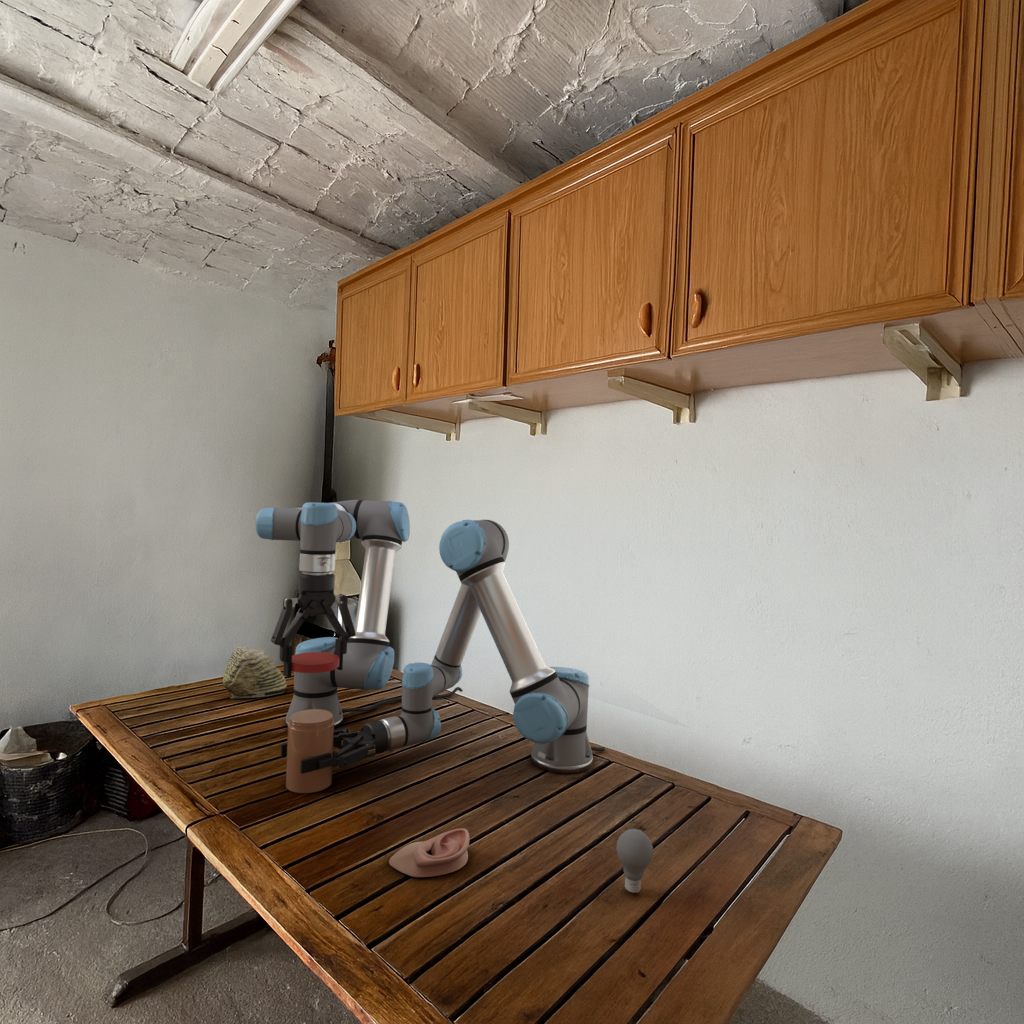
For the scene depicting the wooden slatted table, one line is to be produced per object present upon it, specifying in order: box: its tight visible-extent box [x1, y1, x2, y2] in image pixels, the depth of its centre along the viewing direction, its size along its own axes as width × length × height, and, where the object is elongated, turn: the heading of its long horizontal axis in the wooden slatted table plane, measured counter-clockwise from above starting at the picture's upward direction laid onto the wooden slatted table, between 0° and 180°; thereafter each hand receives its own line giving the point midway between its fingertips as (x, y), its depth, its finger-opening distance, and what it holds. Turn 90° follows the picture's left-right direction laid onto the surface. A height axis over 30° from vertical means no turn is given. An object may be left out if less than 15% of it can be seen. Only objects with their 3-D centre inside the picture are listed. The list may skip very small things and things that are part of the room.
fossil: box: [222, 646, 288, 699], centre depth 198 cm, size 9×18×15 cm, turn 132°
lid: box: [291, 652, 340, 673], centre depth 139 cm, size 11×11×2 cm
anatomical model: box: [388, 827, 470, 878], centre depth 112 cm, size 13×4×12 cm
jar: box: [285, 709, 335, 794], centre depth 140 cm, size 10×10×15 cm
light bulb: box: [615, 828, 654, 894], centre depth 106 cm, size 6×6×10 cm
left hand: (313, 672), depth 140 cm, fingers closed on lid, 11 cm apart
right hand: (291, 758), depth 137 cm, fingers closed on jar, 10 cm apart
